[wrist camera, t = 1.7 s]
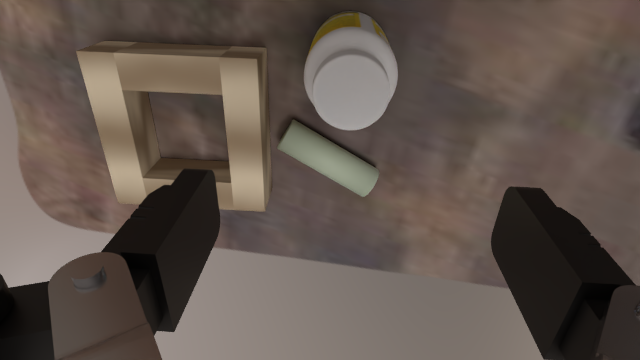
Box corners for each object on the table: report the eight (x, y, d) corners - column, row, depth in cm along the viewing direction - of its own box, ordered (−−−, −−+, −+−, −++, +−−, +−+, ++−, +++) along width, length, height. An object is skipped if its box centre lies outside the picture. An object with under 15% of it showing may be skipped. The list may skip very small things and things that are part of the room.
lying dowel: (282, 135, 32) (273, 154, 30) (296, 113, 31) (288, 131, 29) (362, 181, 34) (359, 202, 32) (379, 163, 32) (378, 183, 30)
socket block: (104, 40, 29) (76, 51, 26) (266, 47, 28) (256, 58, 25) (138, 181, 35) (118, 203, 32) (272, 188, 34) (264, 211, 31)
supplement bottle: (300, 70, 29) (281, 118, 21) (330, -4, 26) (322, 17, 18) (366, 99, 30) (374, 157, 21) (401, 30, 27) (426, 65, 19)
